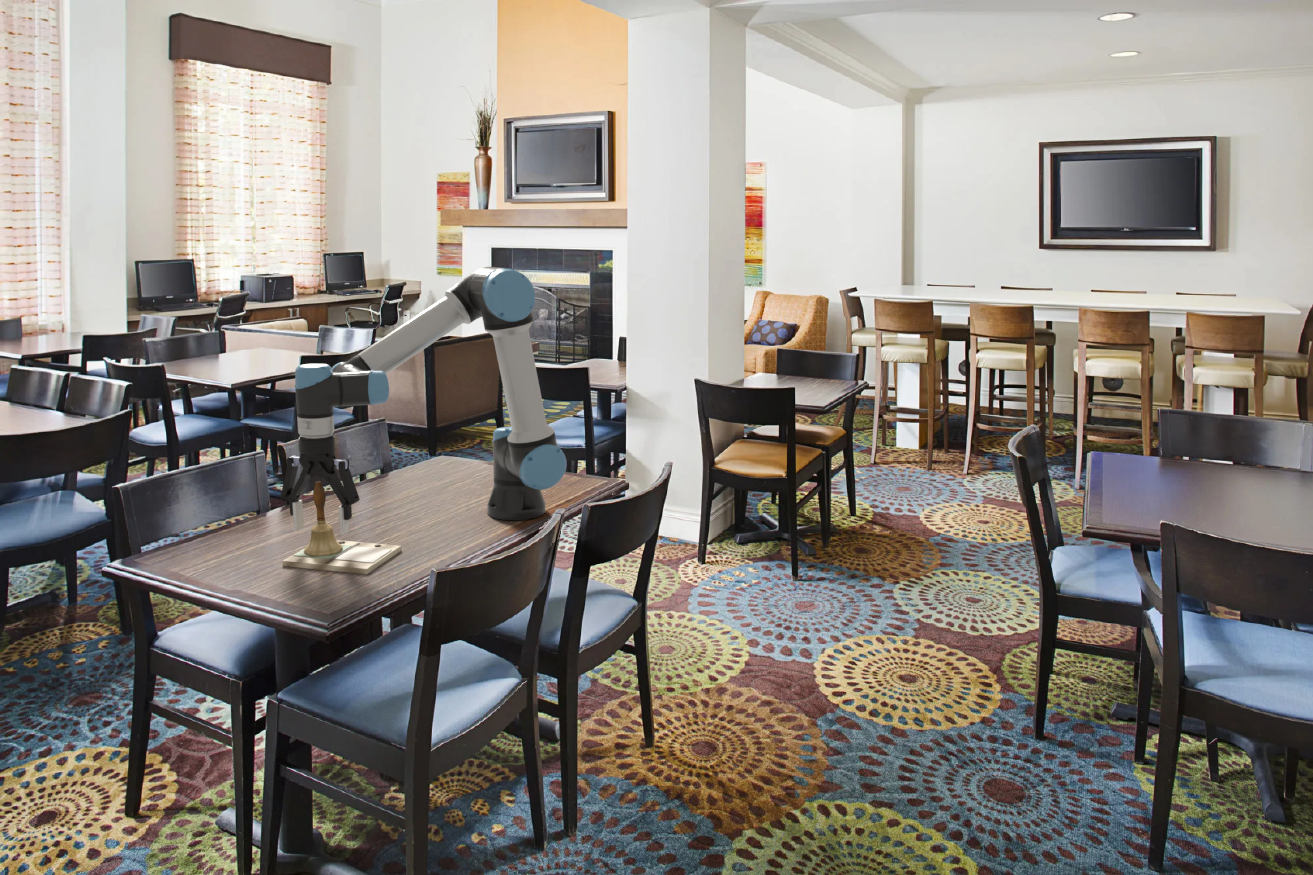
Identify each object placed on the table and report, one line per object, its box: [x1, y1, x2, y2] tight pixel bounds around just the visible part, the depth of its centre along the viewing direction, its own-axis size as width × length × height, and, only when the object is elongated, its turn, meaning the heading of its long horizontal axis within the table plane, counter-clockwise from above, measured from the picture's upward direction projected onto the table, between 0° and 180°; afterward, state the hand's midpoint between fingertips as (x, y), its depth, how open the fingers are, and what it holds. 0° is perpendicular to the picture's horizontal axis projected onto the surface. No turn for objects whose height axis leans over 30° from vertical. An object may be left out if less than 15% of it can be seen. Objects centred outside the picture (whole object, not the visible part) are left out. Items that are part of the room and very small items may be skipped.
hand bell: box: [303, 480, 343, 556], centre depth 214 cm, size 8×8×16 cm
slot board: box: [281, 539, 402, 575], centre depth 215 cm, size 20×16×1 cm
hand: (321, 531), depth 215 cm, fingers open, 10 cm apart
